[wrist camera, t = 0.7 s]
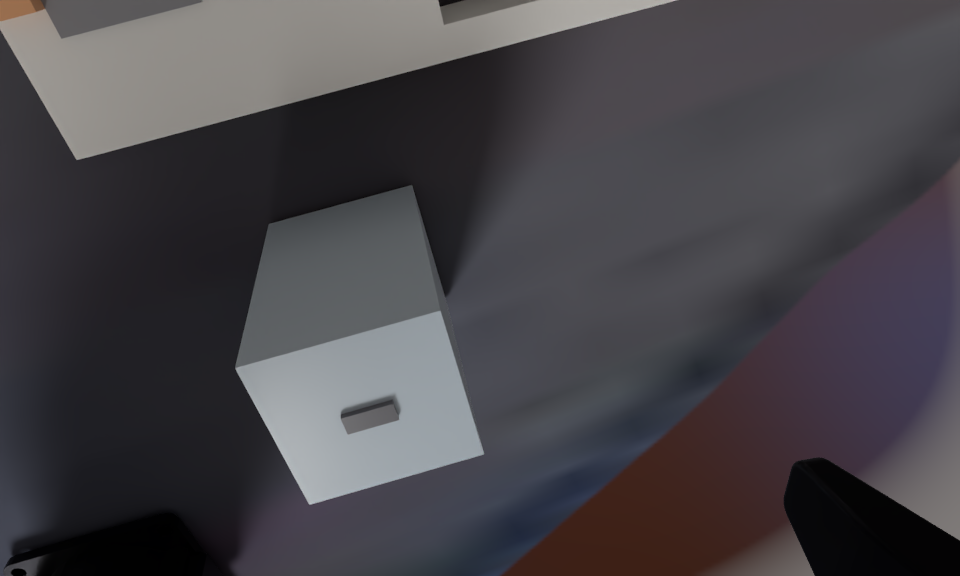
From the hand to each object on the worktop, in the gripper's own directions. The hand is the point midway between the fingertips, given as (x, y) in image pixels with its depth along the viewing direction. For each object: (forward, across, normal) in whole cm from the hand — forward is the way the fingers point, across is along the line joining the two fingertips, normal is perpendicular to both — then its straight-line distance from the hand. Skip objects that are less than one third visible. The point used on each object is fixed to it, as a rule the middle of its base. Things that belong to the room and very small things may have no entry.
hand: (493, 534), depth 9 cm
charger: (+12, +2, +2) cm, 13 cm away
